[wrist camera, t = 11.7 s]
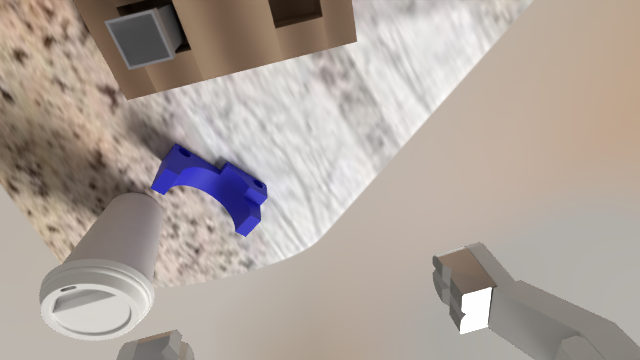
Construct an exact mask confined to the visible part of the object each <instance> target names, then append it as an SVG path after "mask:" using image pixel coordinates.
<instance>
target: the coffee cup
mask: <svg viewBox="0 0 640 360" xmlns="http://www.w3.org/2000/svg"><path fill="white" fill-rule="evenodd" d="M163 219H164V212H163V209H162V207H161V206H160V204H159V203H158V202H157V201H156V200H154V199H153V198H151V197H149V196H147V195H144V194H141V193H124V194H121V195H119V196H117V197H115V198H114V199H113V200H112V201H111V202H110V203H109V204H108V206H107V207H106V208H105V210H104V211H103V212H102V213H101V215H100V216H99V217H98V219H97V220H96V221H95V223H94V224H93V225H92V226H91V228H90V229H89V230H88V232H87V233H86V234H85V236H84V237H83V238H82V239H81V241H80V242H79V243H78V245H77V246H76V247H75V248H74V250H73V251H72V252H71V254H70V255H69V256H68V257H67V259H66V260H65V261H64V262H63V264H62V265H60V266H58V267H56V268H54V269H53V270H52V271H50V272H49V273H48V274H47V275H46V276H45V278H44V280H43V282H42V285H41V289H40V304H41V309H40V310H41V315H42V318H43V320H44V321H45V322H46V323H47V325H49V326H50V327H51V328H52V329H54V330H55V331H57V332H59V333H61V334H63V335H66V336H69V337H72V338H76V339H82V340H106V339H112V338H115V337H118V336H121V335H123V334H125V333H127V332H129V331H130V330H132V329H133V328H134V327H135V326H136V324H137V323H138V322H140V321H141V320H142V319H143V317H145V315H146V314H147V313H148V311H149V310H150V308H151V307H152V305H153V302H154V290H153V287H152V281H153V275H154V269H155V264H156V258H157V252H158V247H159V241H160V236H161V230H162V225H163Z"/></svg>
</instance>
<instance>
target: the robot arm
mask: <svg viewBox="0 0 640 360" xmlns="http://www.w3.org/2000/svg"><path fill="white" fill-rule="evenodd" d="M433 265H434V267H435V268H436V269H435V271H434V272H433V281H434V285H435V289H436V291H437V293H438V295H439V297H440V299H441V301H442V302H443V303H445V304H447V305H448V306H450V316H451V318H452V319H453V321H454V323H455V324H456V326H457V328H458V329H459V331H460V333H464V332H468V331H472V330H476V329H480V328H483V327H486V326H488V328H489V329H491V330H492V331H494V332H495V333H496V334H498V335H499V336H501V337H502V338H504V339H505V340H507V341H508V342H510V343H511V344H512V345H514V346H515V347H517V348H518V349H520V350H521V351H523V352H524V353H526V354H527V355H529V356H530V357H531V358H533V359H534V360H640V347H639V346H638V345H637V344H636V343H635V342H634V341H633V340H632V339H631V338H630V337H629V336H627V334H626V333H624V331H623V330H622V329H620V328H619V327H618V326H617V325H616V324H615V323H614V322H612V321H609V320H607V319H605V318H603V317H601V316H599V315H596V314H594V313H592V312H590V311H588V310H585V309H583V308H581V307H579V306H577V305H574V304H572V303H570V302H568V301H566V300H563V299H561V298H559V297H557V296H555V295H552V294H550V293H548V292H546V291H543V290H541V289H539V288H537V287H535V286H532V285H530V284H528V283H526V282H524V281H521V280H519V281H515V280H514V279H513V278H512V276H511V275H510V274H509V273H508V272H507V271H506V269H505V268H504V267H503V266H502V265H501V264H500V263H499V261H498V260H497V259H496V258H495V257H494V256H493V254H492V253H491V252H490V251H489V250H488V249H487V248H486V246H485V245H484V244H483V243H481V242H478V243H474V244H471V245H468V246H464V247H460V248H456V249H453V250H450V251H446V252H443V253H439V254H436V255H434V256H433ZM181 339H182V335H181V334H180V333H179V331H178V330H173V331H169V332H165V333H161V334H157V335H154V336H150V337H146V338H142V339H138V340H135V341H131V342H127V343H125V344H124V345H123V346H122V348H121V349H120V351H119V354H118V357H117V360H194V354H193V351H192V348H191V347H190V345H189V344H188V343H185V342H182V341H181Z"/></svg>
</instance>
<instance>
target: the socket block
mask: <svg viewBox="0 0 640 360" xmlns="http://www.w3.org/2000/svg"><path fill="white" fill-rule="evenodd" d="M73 1H74V3H75V5H76V7H77V9H78V11H79V12H80V14H81V16H82V18H83V20H84V22H85V24H86V25H87V27H88V29H89V31H90V33H91V35H92V36H93V38H94V40H95V42H96V44H97V46H98V48H99V49H100V51H101V53H102V55H103V57H104V59H105V60H106V62H107V64H108V66H109V68H110V70H111V71H112V73H113V75H114V77H115V79H116V81H117V83H118V84H119V86H120V88H121V90H122V92H123V94H124V95H125V97H126V99H127V100H130V99H134V98H138V97H142V96H146V95H150V94H153V93H157V92H161V91H165V90H169V89H173V88H177V87H181V86H185V85H189V84H193V83H197V82H201V81H204V80H208V79H212V78H216V77H220V76H224V75H228V74H232V73H236V72H240V71H244V70H248V69H252V68H256V67H259V66H263V65H267V64H271V63H275V62H279V61H283V60H287V59H291V58H295V57H299V56H303V55H307V54H310V53H314V52H318V51H322V50H326V49H330V48H334V47H338V46H342V45H346V44H350V43H354V42H357V37H356V30H355V22H354V14H353V7H352V0H73ZM171 2H173V4H174V6H175V9H176V11H177V14H178V17H179V19H180V22H181V24H182V27H183V29H184V32H185V34H186V38H185V39H184V41H183V42H182V43H181V44H180V45H179V46H178V48H177V49H176V50H175V53H176V57H175V58H174V59H171V60H167V61H163V62H159V63H155V64H151V65H147V66H143V67H139V68H135V69H131V70H129V69H128V67H127V65H126V63H125V61H124V59H123V57H122V56H121V54H120V52H119V50H118V48H117V46H116V44H115V42H114V40H113V38H112V36H111V34H110V32H109V30H108V28H107V26H106V24H105V22H104V21H106V20H109V19H112V18H116V17H121V16H125V15H129V14H133V13H135V12H137V11H140V10H142V9H146V8H151V7H155V6H159V5H163V4H167V3H171Z"/></svg>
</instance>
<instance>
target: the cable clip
mask: <svg viewBox="0 0 640 360" xmlns="http://www.w3.org/2000/svg"><path fill="white" fill-rule="evenodd" d="M177 185H186V186H191V187H195V188H198V189H200V190H202V191H204V192H206V193H208V194H210V195H211V196H213V197H214V198H215V199H216V200H218V201H219V202H220V203H221V204H222V205H223V206H224V207H225V208H226V210H227V211H228V212H229V214H230V215H231V217H232V219H233V222H234V225H235V232H237V233H239V234H241V235H243V236H245V237H246V236H247V235H248V234H249V233H250V232H251V231H252V230H253V229H254V227H255V226H256V225H257V224H258V223H259V222H260V221H261V212H260V205H261V204H262V203H263V202H264V201H265V200H266V199H267V198H268V197H267V187H266V185H265V184H263V183H262V182H260V181H258V180H257V179H255V178H254V177H252V176H250V175H249V174H247V173H245V172H244V171H242V170H241V169H239V168H237V167H236V166H234V165H232V164H231V163H229V162H228V161H227V163H226V164H225V165H224V166H223V167H222V169H221V170H220V169H218V168H216V167H215V166H213V165H211V164H210V163H208V162H206V161H205V160H203V159H201V158H200V157H198V156H196V155H195V154H193V153H191V152H190V151H188V150H186V149H185V148H183V147H181V146H180V145H178V144H176V143H175V145H174V146H173V147H172V149H171V150H170V151H169V153H168V154H167V155H166V157H165V158H164V159H163V161H162V163H161V165H160V167H159V170H158V172H157V174H156V177H155V179H154V181H153V184H152V186H151V189H153V190H155V191H157V192H159V193H161V194H163V195H165V193H166V192H167V191H168V189H169V188H171V187H173V186H177Z"/></svg>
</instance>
